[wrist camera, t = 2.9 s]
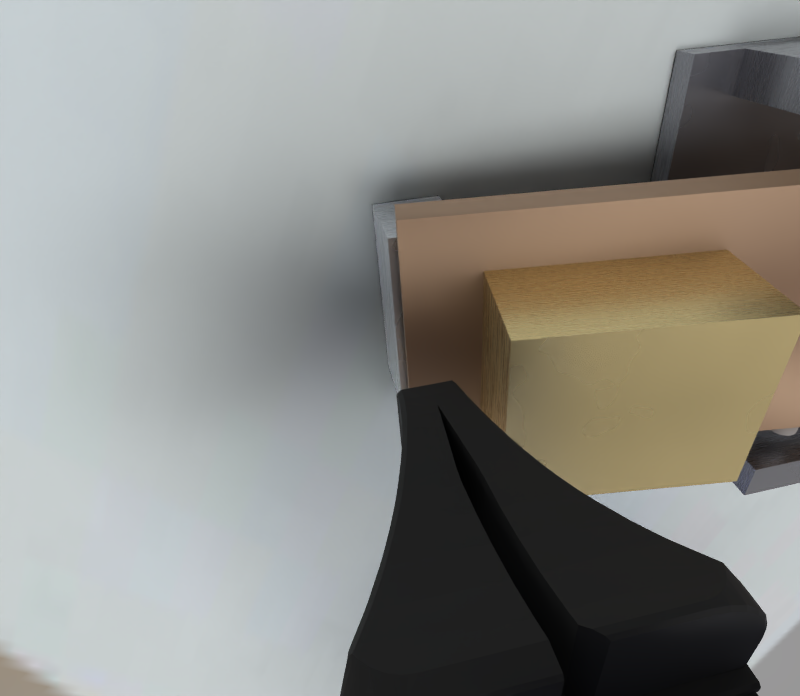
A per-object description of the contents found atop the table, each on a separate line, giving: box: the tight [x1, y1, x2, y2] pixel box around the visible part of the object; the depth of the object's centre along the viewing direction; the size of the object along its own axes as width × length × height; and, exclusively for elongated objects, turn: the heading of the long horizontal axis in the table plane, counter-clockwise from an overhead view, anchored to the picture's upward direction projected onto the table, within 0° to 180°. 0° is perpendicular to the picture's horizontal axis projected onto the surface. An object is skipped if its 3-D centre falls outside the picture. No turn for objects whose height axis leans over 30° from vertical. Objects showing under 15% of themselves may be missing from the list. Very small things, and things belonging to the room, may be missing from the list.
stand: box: [372, 37, 800, 495], centre depth 17 cm, size 12×24×6 cm, turn 94°
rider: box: [481, 250, 800, 495], centre depth 14 cm, size 5×6×3 cm
